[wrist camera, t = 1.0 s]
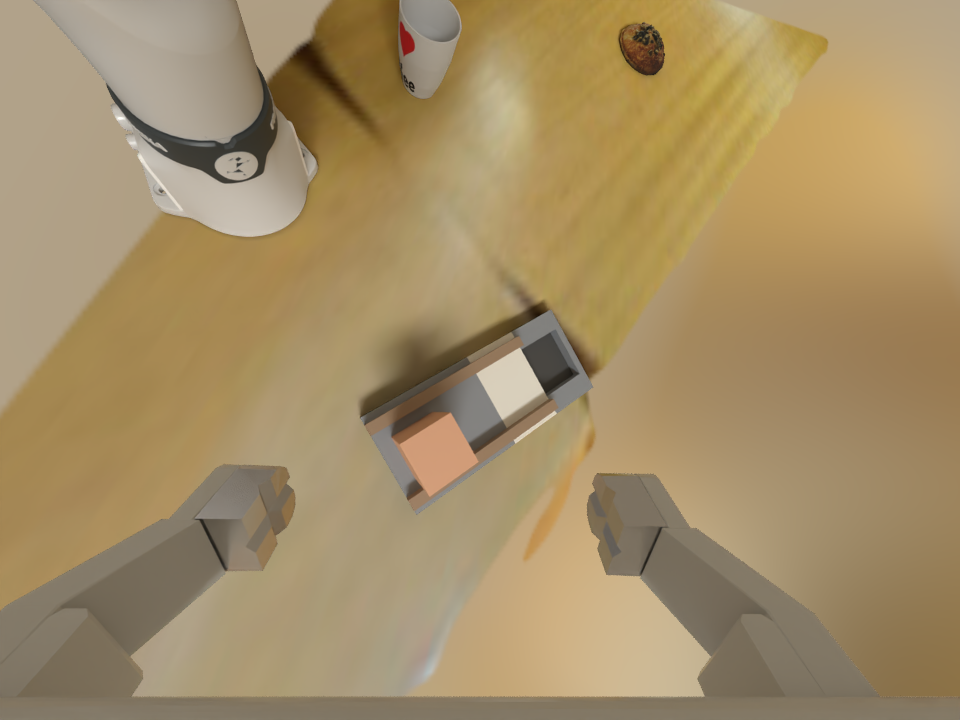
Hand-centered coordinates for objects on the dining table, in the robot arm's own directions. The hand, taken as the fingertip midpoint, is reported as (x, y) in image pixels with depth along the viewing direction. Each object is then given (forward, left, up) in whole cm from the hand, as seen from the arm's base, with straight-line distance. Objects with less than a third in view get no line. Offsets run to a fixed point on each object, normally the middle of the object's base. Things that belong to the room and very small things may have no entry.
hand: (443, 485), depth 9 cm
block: (+5, +4, -35) cm, 36 cm away
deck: (+5, +15, -37) cm, 40 cm away
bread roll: (-40, +83, -38) cm, 99 cm away
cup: (-43, +31, -38) cm, 65 cm away
